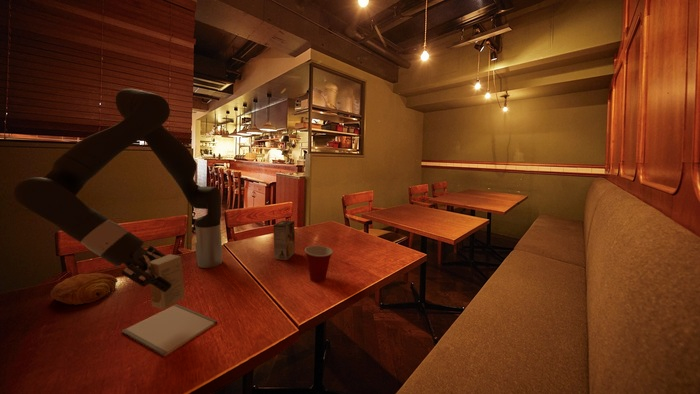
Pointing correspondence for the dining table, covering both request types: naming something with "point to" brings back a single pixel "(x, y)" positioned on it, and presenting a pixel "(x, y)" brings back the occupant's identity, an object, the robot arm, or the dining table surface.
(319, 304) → the dining table surface
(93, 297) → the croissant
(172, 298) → the skincare box
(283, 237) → the coffee box
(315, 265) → the plastic cup
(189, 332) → the mat
